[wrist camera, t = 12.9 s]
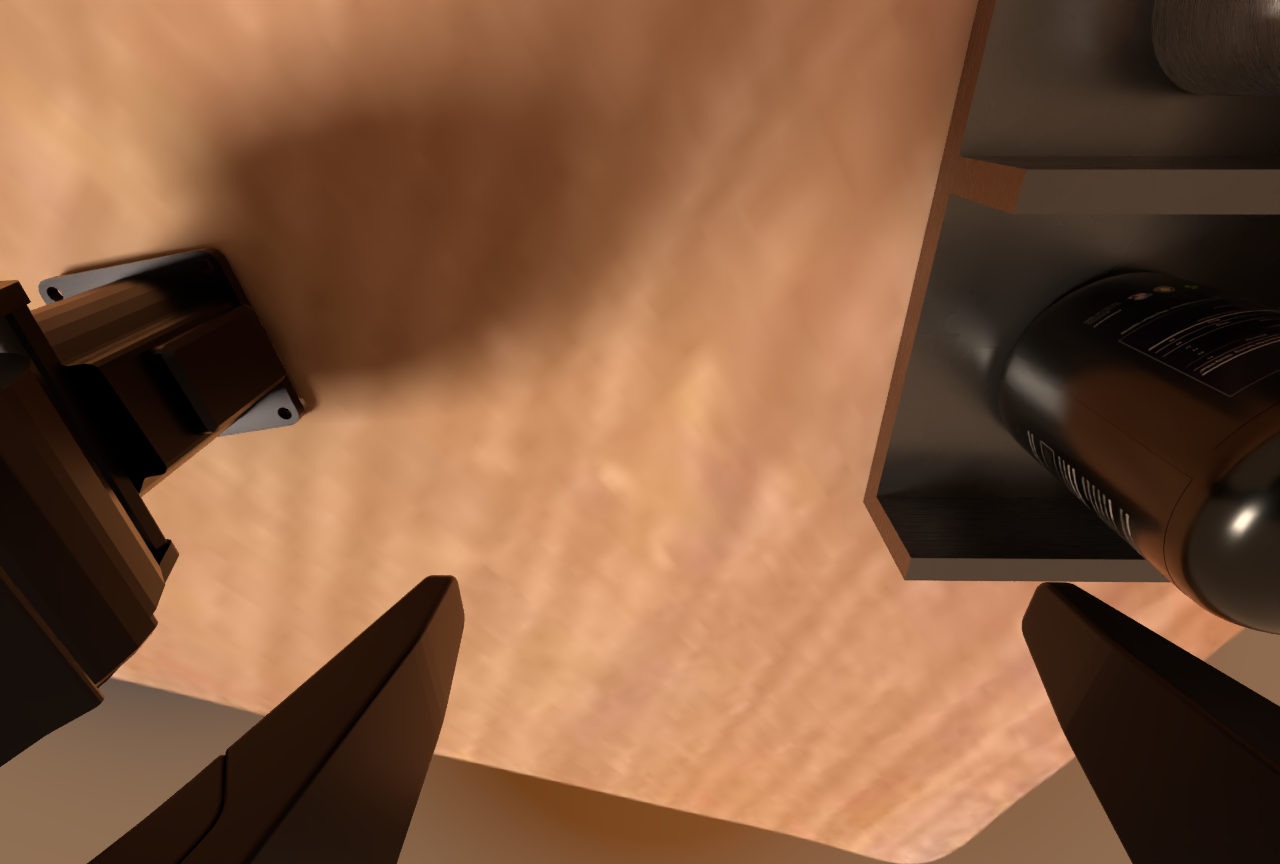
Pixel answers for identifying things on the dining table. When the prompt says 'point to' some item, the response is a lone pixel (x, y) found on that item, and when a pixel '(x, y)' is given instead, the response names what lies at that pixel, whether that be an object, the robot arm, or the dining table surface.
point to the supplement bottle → (1163, 428)
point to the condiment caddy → (1067, 252)
